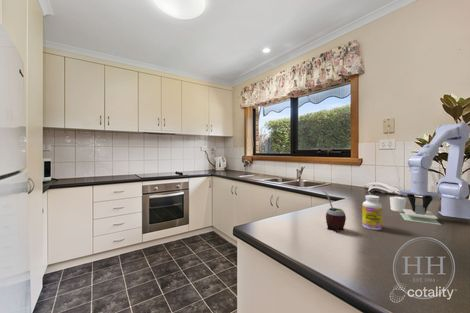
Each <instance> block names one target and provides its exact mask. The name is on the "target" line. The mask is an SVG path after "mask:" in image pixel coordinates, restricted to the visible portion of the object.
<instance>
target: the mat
mask: <svg viewBox="0 0 470 313" xmlns="http://www.w3.org/2000/svg"><path fill="white" fill-rule="evenodd" d="M399 215H401V218H403V220H404V221H410V222H417V223H418V222H419V223H425V224H432V225H440V226H441V225H442V224H441V223H440V222H439V221H437V219H432V218H423V217H415V216H407V215H406V214H405V212H399Z"/></svg>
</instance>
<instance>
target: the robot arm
mask: <svg viewBox="0 0 470 313" xmlns="http://www.w3.org/2000/svg"><path fill="white" fill-rule="evenodd" d="M469 141H470V126H469V124H468V123H466V122H459V123H451V124H440V125H438V126H437V128H436V129H435V135H434V136H433V138H432V140H430V142H429V143H426V144H424V145H423V146H422V147H421V148H420V150H419V151H418V152H417V153H416V154H415V155H412V156H410V157H409V158H408V161H407V166H408V167H409V171H410V190H409V189H408V190H407V189H406V190H405V189H398V195H400V196H401V195H403V196H406V197H407V198H408V201H409V203H410V207H411V210H412V211H413V212H415V205H416V199H417V198H416V197H422V206H423V207H424V208H425V213H426V211H427V210H428V207H429V205H431V203H432V202H433V198H438V199H441V201H440V211H437V213H439V214H440V215H441V216H444V217H451V218H452V217H453V218H460V219H467V220H468V219H469V220H470V199H469V198H467V197H468V196H469V194H470V189H469V182H468V181H467V180H465V179H464V178H462V174H463V173H462V172H463V164H464V159H465V158H464V157H465V150H466V143H467V142H469ZM444 143H447V144H448V145H449V148H448V155H447V161H446V162H447V163H446V171H445V176H443V177H442V178H440V179H438V182H437V185H436V188H435V191H436V192H435V191H429V189H428V188H429V169H430V168H431V167H432V165H433V161H434V158H435V157H436V156H437V155H438V154H439V151H440V149H439V148H440V147H441V145H443V144H444Z"/></svg>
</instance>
